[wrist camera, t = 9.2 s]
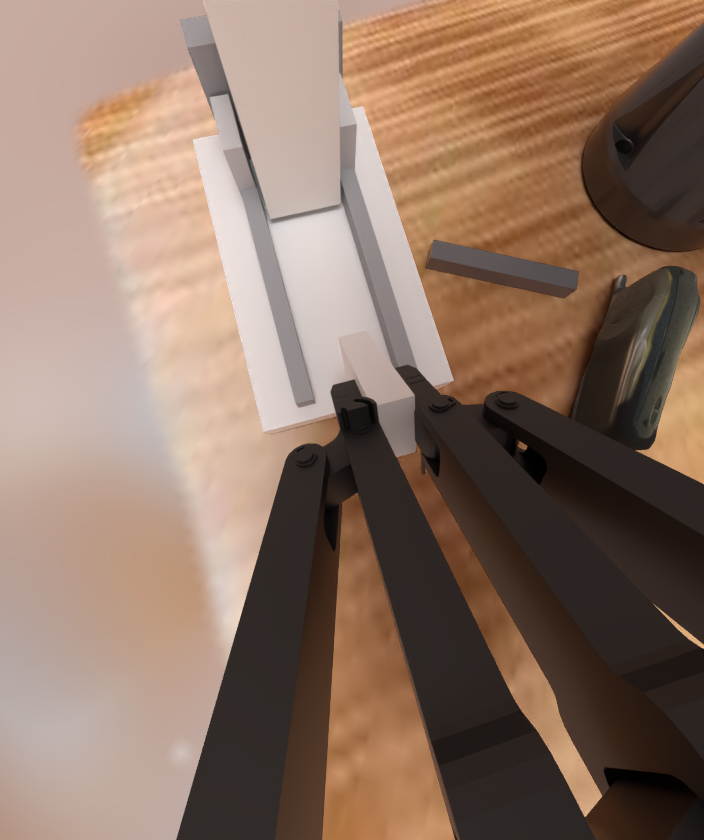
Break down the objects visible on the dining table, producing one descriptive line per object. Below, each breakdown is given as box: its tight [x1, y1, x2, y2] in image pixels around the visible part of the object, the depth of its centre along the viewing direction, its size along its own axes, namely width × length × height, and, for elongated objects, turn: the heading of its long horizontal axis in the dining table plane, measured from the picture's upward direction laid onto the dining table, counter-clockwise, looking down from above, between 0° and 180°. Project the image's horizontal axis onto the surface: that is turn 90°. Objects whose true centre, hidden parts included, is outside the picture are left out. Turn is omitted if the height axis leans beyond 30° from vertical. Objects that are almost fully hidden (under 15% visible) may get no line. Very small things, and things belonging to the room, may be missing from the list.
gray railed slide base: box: [180, 10, 454, 434], centre depth 18 cm, size 24×14×8 cm, turn 16°
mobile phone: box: [569, 266, 700, 450], centre depth 20 cm, size 5×3×15 cm
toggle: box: [202, 0, 341, 219], centre depth 15 cm, size 5×5×11 cm
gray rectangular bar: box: [426, 240, 579, 298], centre depth 22 cm, size 12×2×2 cm, turn 78°
